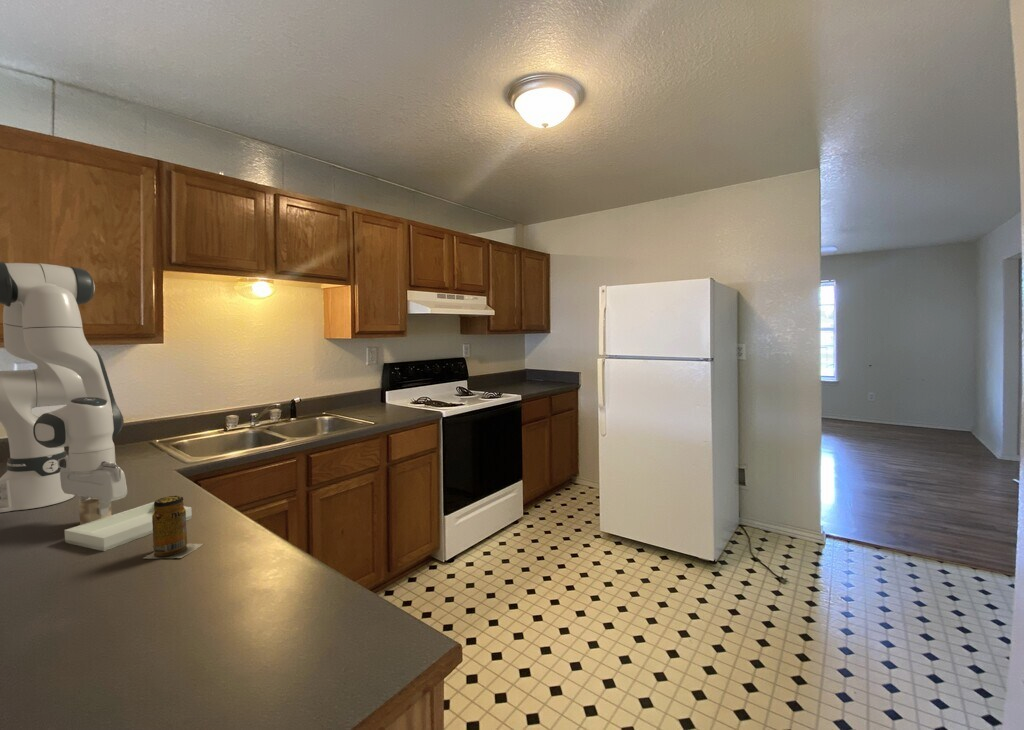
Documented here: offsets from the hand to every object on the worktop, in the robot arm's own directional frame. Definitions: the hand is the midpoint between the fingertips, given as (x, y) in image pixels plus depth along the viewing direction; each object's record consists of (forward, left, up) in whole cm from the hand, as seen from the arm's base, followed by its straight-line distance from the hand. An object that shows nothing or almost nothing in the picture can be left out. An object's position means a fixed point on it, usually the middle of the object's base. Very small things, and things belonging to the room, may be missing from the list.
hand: (95, 513), depth 119 cm
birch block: (0, 0, -3) cm, 3 cm away
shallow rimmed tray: (+14, 0, -3) cm, 14 cm away
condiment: (+36, -5, -3) cm, 36 cm away
